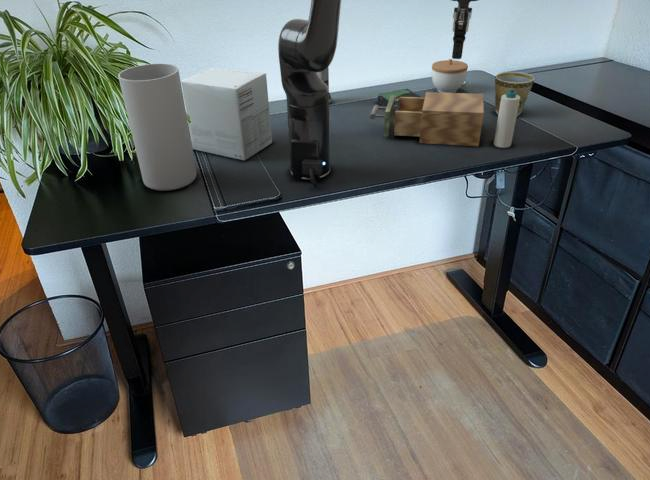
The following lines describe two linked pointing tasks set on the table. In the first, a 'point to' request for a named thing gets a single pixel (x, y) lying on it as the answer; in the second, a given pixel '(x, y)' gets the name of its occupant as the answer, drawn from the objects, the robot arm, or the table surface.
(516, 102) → the lotion bottle
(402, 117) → the drawer
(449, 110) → the cabinet
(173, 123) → the cylinder vase
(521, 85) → the ceramic cup
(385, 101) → the disk drive
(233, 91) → the supplement box
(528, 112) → the table surface
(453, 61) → the trinket box
